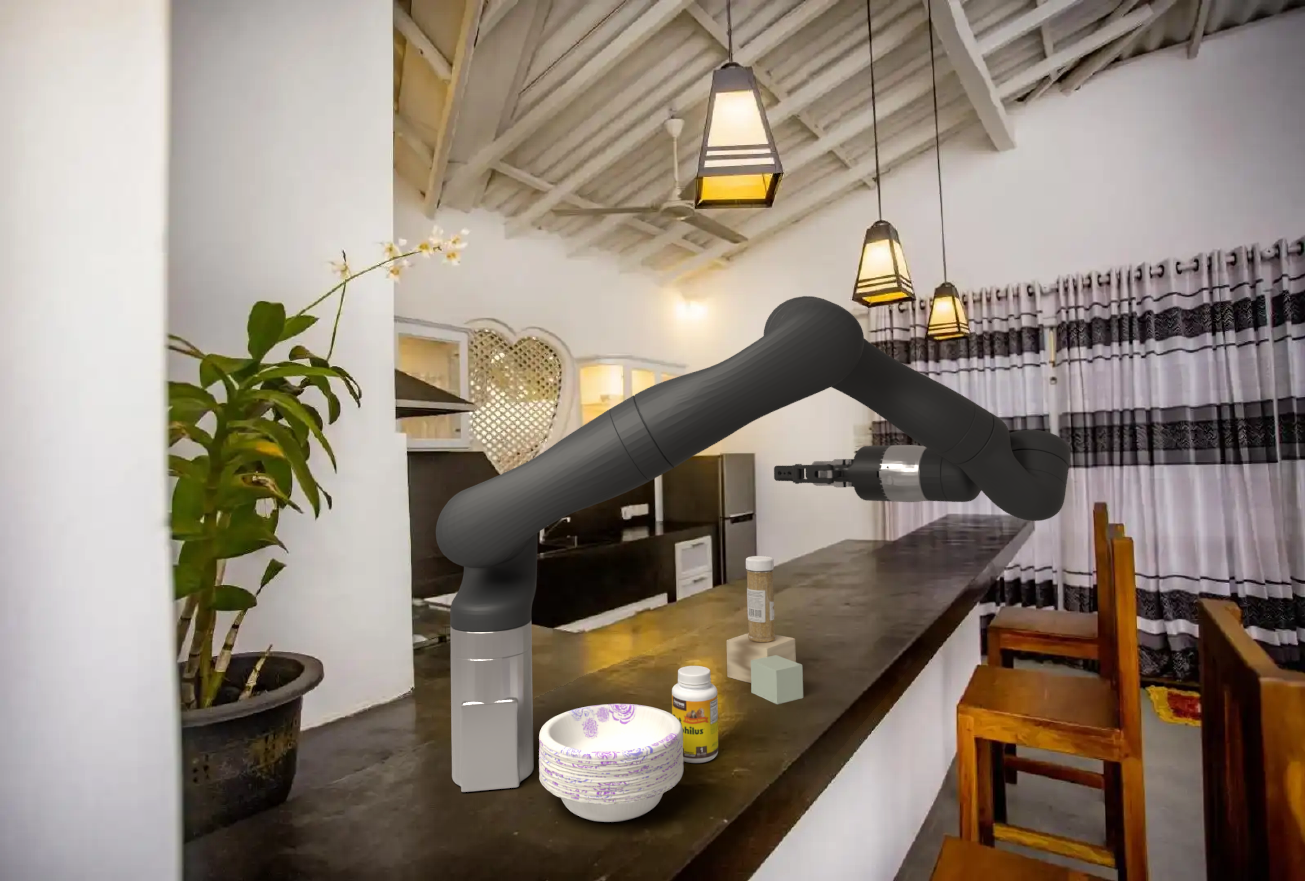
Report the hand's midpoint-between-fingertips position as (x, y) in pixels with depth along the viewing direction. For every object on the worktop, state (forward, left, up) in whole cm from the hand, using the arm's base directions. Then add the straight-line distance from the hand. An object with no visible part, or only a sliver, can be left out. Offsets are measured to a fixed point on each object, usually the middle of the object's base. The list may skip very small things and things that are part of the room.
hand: (791, 472), depth 102 cm
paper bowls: (-25, +30, -34) cm, 51 cm away
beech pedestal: (+11, +2, -34) cm, 35 cm away
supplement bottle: (-16, +19, -34) cm, 42 cm away
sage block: (-1, +1, -31) cm, 31 cm away
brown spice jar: (+11, +2, -28) cm, 30 cm away
